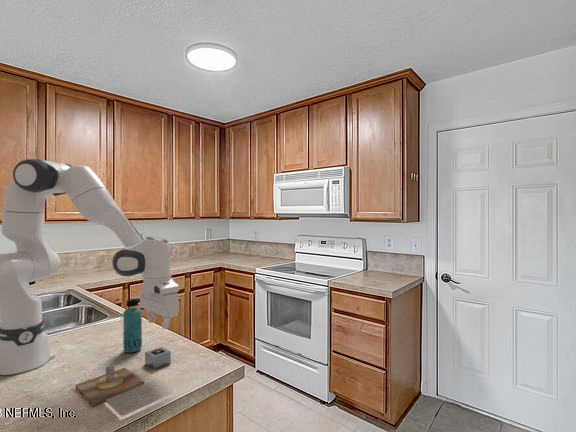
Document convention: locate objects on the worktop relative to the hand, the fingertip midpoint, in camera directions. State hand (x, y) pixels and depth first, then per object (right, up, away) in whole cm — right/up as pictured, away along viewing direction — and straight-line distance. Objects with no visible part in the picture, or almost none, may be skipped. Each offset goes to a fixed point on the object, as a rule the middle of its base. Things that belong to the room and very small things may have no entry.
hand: (158, 325), depth 110 cm
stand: (0, -14, 0) cm, 14 cm away
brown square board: (-9, -14, -13) cm, 21 cm away
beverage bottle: (-14, -14, +11) cm, 22 cm away
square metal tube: (0, -13, 0) cm, 13 cm away
